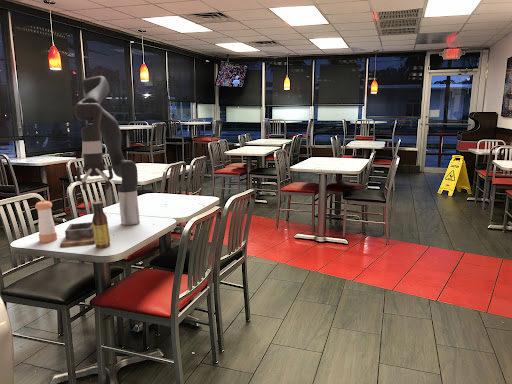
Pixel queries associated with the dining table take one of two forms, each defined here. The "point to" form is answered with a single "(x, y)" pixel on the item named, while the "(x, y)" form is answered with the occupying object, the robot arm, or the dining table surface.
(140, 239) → the dining table surface
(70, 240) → the stone serving dish
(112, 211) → the dining table surface
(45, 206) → the pepper shaker
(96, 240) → the sauce bottle
